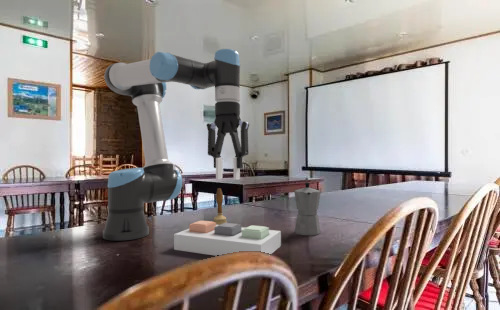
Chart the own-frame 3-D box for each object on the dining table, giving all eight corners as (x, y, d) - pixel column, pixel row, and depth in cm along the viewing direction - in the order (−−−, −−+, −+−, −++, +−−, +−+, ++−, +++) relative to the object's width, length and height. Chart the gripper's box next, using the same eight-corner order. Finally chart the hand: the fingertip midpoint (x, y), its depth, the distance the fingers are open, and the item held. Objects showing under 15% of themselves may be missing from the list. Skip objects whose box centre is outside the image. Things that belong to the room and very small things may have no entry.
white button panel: (174, 249, 94) (173, 234, 94) (203, 236, 109) (203, 223, 109) (261, 262, 83) (261, 244, 83) (280, 246, 97) (280, 231, 97)
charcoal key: (214, 237, 94) (214, 226, 94) (224, 232, 100) (224, 222, 100) (232, 239, 92) (232, 227, 92) (241, 234, 97) (241, 223, 97)
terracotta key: (189, 234, 98) (189, 223, 98) (200, 230, 103) (200, 219, 103) (205, 236, 96) (205, 225, 96) (216, 231, 101) (216, 221, 101)
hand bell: (228, 235, 110) (227, 189, 110) (205, 234, 112) (205, 189, 112) (233, 230, 119) (233, 187, 119) (212, 229, 120) (212, 187, 120)
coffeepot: (323, 237, 107) (323, 184, 107) (295, 236, 108) (294, 184, 108) (318, 227, 122) (317, 180, 122) (293, 226, 123) (293, 180, 123)
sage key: (241, 240, 91) (241, 228, 91) (250, 235, 96) (250, 224, 96) (261, 242, 88) (261, 230, 88) (268, 237, 94) (268, 226, 94)
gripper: (194, 102, 96) (195, 179, 96) (250, 98, 89) (250, 181, 89) (208, 106, 103) (208, 177, 103) (260, 102, 95) (260, 179, 95)
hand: (227, 179), depth 96 cm, fingers open, 5 cm apart
